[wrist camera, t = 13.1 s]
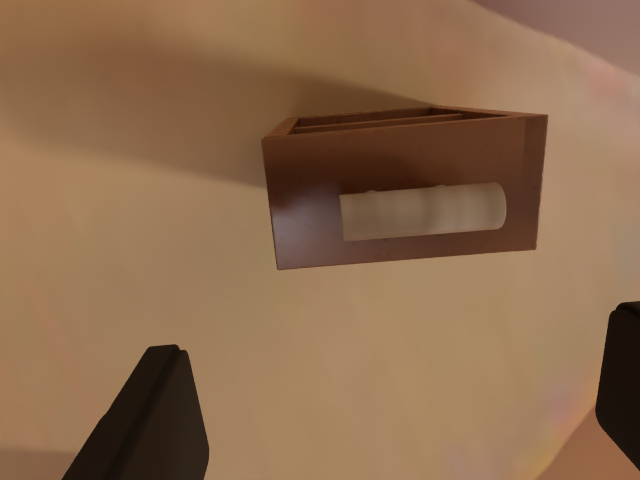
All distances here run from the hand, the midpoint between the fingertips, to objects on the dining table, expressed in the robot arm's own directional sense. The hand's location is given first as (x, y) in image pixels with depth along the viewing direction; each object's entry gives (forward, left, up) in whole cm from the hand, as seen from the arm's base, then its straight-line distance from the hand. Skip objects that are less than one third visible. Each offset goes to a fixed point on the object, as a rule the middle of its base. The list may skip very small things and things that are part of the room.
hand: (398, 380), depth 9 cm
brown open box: (-2, +2, -26) cm, 26 cm away
